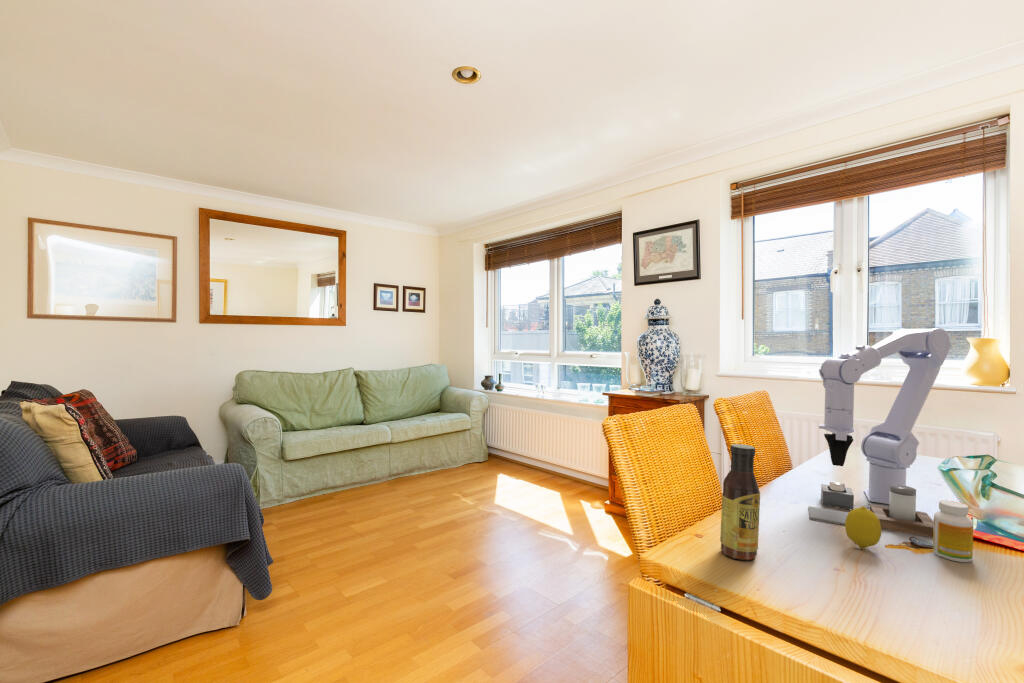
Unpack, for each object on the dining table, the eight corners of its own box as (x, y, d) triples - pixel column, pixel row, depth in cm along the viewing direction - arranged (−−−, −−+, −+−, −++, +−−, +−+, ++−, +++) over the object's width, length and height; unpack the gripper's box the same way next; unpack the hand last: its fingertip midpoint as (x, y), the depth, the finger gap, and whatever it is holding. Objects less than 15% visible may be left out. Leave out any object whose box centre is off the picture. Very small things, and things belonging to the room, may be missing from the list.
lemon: (874, 545, 93) (875, 503, 93) (885, 557, 87) (886, 513, 87) (840, 540, 94) (841, 500, 94) (850, 552, 89) (851, 509, 89)
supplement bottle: (980, 564, 85) (982, 510, 85) (945, 561, 86) (946, 507, 86) (958, 551, 90) (960, 499, 90) (925, 548, 92) (927, 497, 91)
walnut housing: (869, 512, 110) (869, 504, 110) (926, 521, 105) (926, 512, 105) (876, 527, 101) (876, 518, 101) (938, 538, 96) (939, 528, 96)
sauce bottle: (742, 565, 84) (744, 451, 83) (712, 550, 89) (714, 444, 89) (766, 557, 87) (768, 448, 86) (736, 544, 92) (738, 441, 92)
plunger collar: (821, 498, 119) (821, 484, 119) (850, 502, 116) (850, 488, 116) (822, 505, 114) (823, 490, 114) (853, 510, 111) (853, 495, 111)
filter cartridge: (887, 519, 106) (887, 483, 106) (912, 523, 104) (913, 486, 104) (890, 526, 102) (891, 488, 102) (917, 530, 100) (918, 492, 100)
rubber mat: (808, 508, 112) (808, 506, 112) (850, 515, 108) (850, 512, 108) (810, 519, 105) (810, 517, 105) (854, 527, 101) (854, 524, 101)
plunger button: (828, 492, 117) (829, 480, 117) (843, 495, 116) (844, 482, 116) (829, 496, 115) (830, 483, 115) (845, 498, 113) (845, 486, 113)
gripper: (817, 403, 123) (816, 456, 124) (821, 411, 111) (819, 469, 111) (850, 405, 120) (849, 460, 120) (858, 413, 107) (857, 474, 107)
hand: (837, 465), depth 115 cm, fingers closed
